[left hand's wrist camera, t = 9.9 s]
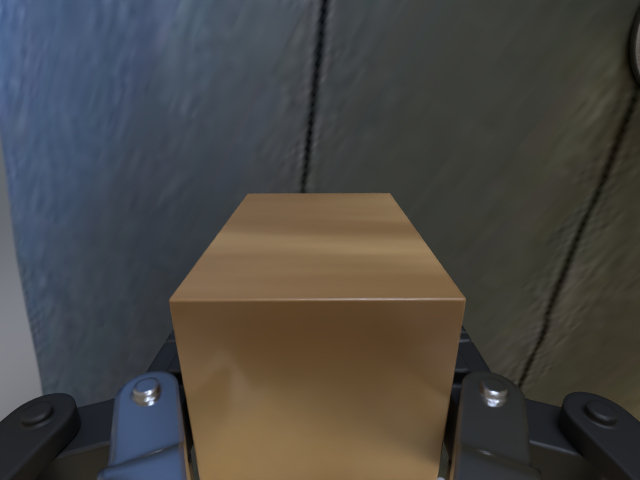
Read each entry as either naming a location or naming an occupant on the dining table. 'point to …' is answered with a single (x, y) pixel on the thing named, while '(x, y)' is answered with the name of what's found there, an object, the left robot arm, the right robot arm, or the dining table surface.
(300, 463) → the bar
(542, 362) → the dining table surface
